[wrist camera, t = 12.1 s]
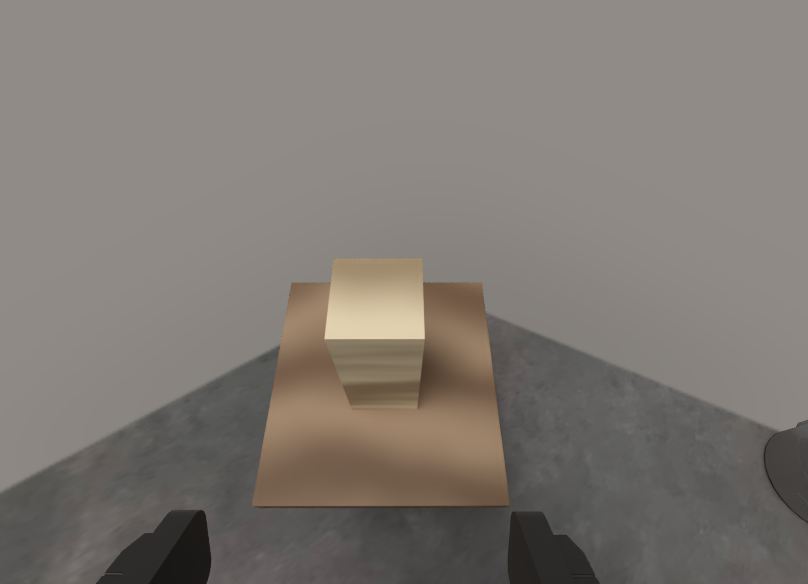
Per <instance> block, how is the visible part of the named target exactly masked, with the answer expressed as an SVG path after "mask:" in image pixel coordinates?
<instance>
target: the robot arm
mask: <svg viewBox="0 0 808 584" xmlns="http://www.w3.org/2000/svg"><path fill="white" fill-rule="evenodd" d="M765 464H766V468H767V472H768V475H769V478H770V480H771V482H772V484H773V486H774V488H775V489H776V491H777V492H778V494H779V495H780V496H781V498H782V499H783V500H784V501H785V502H786V504H787V505H788V506H789V507H790V508H791V509H792V510H793V511H794V512H795V513H797V514H798V515H799V516H800V517H801V518H802V519H804V520H806V521H807V522H808V420H806V421H803V422H800V423H798V424H797V426H796V428H792V429H789V430H785V431H782V432H780V433H778V434H776V435H774V436H773V437H772V438H771V439H770V441H769V443H768V445H767V447H766V452H765ZM210 568H211V552H210V545H209V537H208V529H207V521H206V515H205V512H204V511H203V510H173V511H171V512H169V513H168V514H167V515H166V517H165V518H164V519H163V520H162V522H161V523H160V524H159V526H158V527H157V528H156V530H155V531H154V532H153V533H145V534H143V535H142V536H141V537H140V538H138V539H137V540H136V541H134V542H133V543H132V544H131V545H129V546H128V547H127V548H126V549H124V550H123V551H122V552H121V553H120V555H119V556H118V557H117V558H116V560H115V561H114V562H113V563H112V564H111V566H110V567H109V568H108V569H107V571H106V572H105V575H104V576H102V577H101V578H100V579H99V581H98V582H97V583H96V584H206V583H207V580H208V577H209V573H210ZM508 573H509V580H510V584H600V583H599V581H598V580H597V578H595V574H594V572H593V570H592V568H591V566H590V564H589V562H588V560H587V558H586V556H585V554H584V553H583V552H582V551H581V549H580V548H579V547H578V546H577V545H576V544H575V543H574V542H573V541H572V540H571V539H570V538H569V537H568V536H567V535H553V533H552V531H551V529H550V526H549V524H548V522H547V520H546V518H545V516H544V514H543V513H542V512H512V514H511V523H510V537H509V550H508Z"/></svg>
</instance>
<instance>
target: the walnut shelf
mask: <svg viewBox="0 0 808 584" xmlns="http://www.w3.org/2000/svg"><path fill="white" fill-rule="evenodd" d="M330 286H331V283H292V284H291V289H290V295H289V300H288V306H287V312H286V317H285V323H284V329H283V334H282V340H281V345H280V351H279V356H278V362H277V368H276V373H275V379H274V385H273V390H272V396H271V401H270V407H269V413H268V418H267V424H266V430H265V435H264V441H263V446H262V452H261V458H260V463H259V469H258V475H257V480H256V486H255V491H254V497H253V503H252V506H254V507H258V508H486V507H507V506H510V501H509V494H508V486H507V478H506V470H505V462H504V454H503V447H502V439H501V431H500V423H499V415H498V407H497V399H496V392H495V384H494V376H493V368H492V360H491V352H490V344H489V337H488V329H487V321H486V313H485V305H484V297H483V290H482V283H423V300H424V330H425V342H424V351H423V360H422V369H421V379H420V388H419V397H418V406H417V409H351V406H350V404H349V401H348V398H347V396H346V393H345V391H344V388H343V386H342V383H341V380H340V378H339V375H338V373H337V370H336V368H335V365H334V363H333V360H332V357H331V355H330V352H329V350H328V347H327V345H326V342H325V339H324V338H325V329H326V321H327V312H328V303H329V295H330Z"/></svg>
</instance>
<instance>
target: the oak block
mask: <svg viewBox="0 0 808 584" xmlns="http://www.w3.org/2000/svg"><path fill="white" fill-rule="evenodd" d="M324 339H325V342H326V345H327V347H328V350H329V352H330V355H331V357H332V360H333V363H334V365H335V368H336V370H337V373H338V375H339V378H340V380H341V383H342V386H343V388H344V391H345V393H346V396H347V398H348V401H349V404H350V406H351V409H417V406H418V397H419V388H420V379H421V369H422V360H423V351H424V342H425V330H424V300H423V269H422V259H334V260H333V269H332V277H331V286H330V295H329V303H328V312H327V321H326V329H325V338H324Z"/></svg>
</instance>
